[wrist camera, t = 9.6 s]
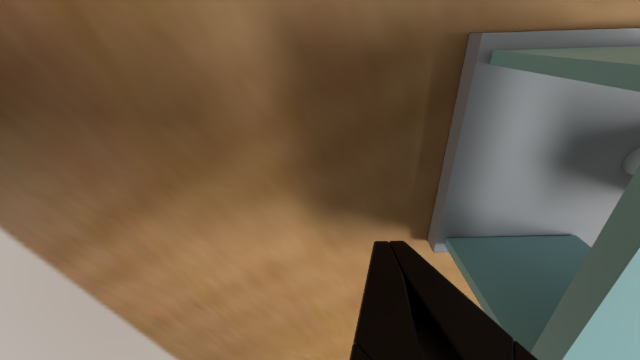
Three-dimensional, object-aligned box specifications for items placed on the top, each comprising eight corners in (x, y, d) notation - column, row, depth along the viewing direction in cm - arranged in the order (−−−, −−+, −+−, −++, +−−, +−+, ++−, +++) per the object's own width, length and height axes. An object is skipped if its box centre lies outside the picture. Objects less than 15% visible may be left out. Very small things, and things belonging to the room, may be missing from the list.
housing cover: (677, 44, 10) (1233, 62, 4) (572, 242, 15) (756, 394, 9) (493, 50, 10) (757, 76, 4) (444, 245, 15) (535, 397, 9)
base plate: (893, 19, 11) (1002, 16, 9) (714, 233, 16) (762, 258, 14) (469, 33, 11) (497, 33, 9) (427, 240, 16) (440, 265, 15)
